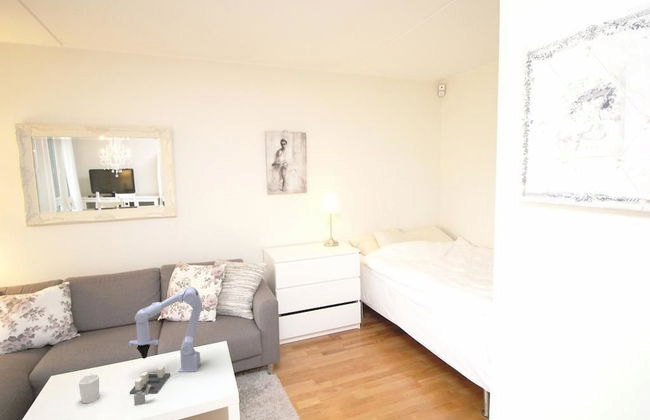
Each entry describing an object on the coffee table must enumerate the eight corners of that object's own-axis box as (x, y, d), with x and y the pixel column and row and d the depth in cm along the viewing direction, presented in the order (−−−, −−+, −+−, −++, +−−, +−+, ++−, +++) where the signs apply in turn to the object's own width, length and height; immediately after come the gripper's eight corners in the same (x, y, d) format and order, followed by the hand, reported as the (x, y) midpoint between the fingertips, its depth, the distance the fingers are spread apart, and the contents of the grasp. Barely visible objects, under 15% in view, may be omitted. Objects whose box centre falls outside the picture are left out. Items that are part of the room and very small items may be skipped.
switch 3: (165, 374, 174) (164, 366, 174) (162, 377, 171) (161, 369, 171) (160, 374, 174) (160, 366, 174) (157, 377, 171) (157, 369, 171)
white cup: (84, 406, 152) (83, 386, 151) (77, 400, 156) (75, 380, 155) (103, 397, 159) (102, 377, 158) (95, 391, 163) (94, 372, 162)
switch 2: (148, 380, 169) (148, 371, 169) (145, 383, 166) (145, 375, 166) (144, 380, 169) (143, 372, 169) (140, 383, 166) (140, 375, 166)
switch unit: (170, 375, 176) (170, 372, 175) (156, 393, 161) (156, 390, 161) (145, 376, 175) (145, 373, 175) (129, 394, 160) (129, 391, 160)
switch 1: (143, 386, 164) (142, 377, 164) (140, 390, 161) (139, 381, 161) (138, 386, 164) (138, 377, 164) (135, 390, 161) (134, 381, 161)
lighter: (134, 405, 152) (133, 388, 152) (135, 402, 154) (134, 386, 153) (151, 402, 154) (150, 385, 154) (152, 399, 156) (151, 383, 155)
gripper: (160, 329, 178) (162, 353, 179) (133, 329, 177) (135, 354, 179) (154, 335, 171) (155, 360, 172) (125, 336, 170) (127, 361, 172)
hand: (144, 357), depth 175 cm, fingers closed
